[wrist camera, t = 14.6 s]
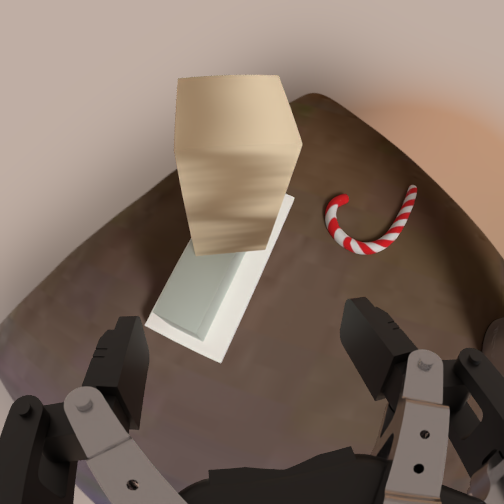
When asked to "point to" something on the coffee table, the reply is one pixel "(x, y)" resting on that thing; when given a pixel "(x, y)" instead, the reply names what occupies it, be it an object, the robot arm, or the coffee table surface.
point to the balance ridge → (211, 295)
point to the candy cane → (375, 245)
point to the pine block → (233, 158)
